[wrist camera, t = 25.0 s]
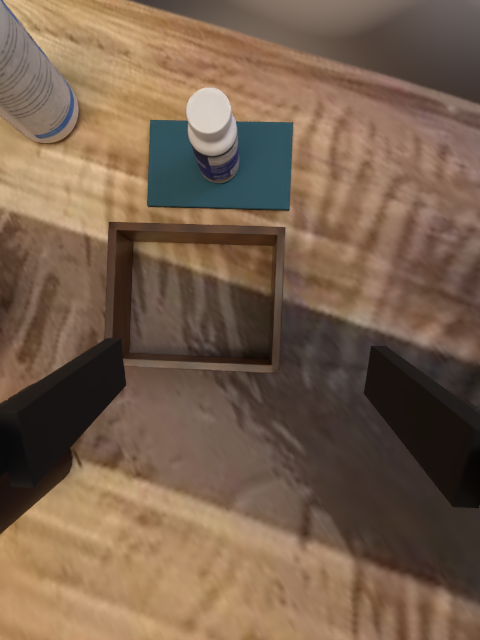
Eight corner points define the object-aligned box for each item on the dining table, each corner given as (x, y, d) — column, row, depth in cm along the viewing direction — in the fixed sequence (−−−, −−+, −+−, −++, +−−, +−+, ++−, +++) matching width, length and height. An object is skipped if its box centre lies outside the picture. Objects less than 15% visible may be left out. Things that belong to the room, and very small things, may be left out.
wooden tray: (280, 238, 38) (285, 227, 33) (275, 366, 38) (279, 373, 33) (126, 234, 39) (108, 221, 34) (122, 359, 39) (103, 365, 34)
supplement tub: (86, 85, 39) (-13, -57, 24) (76, 151, 39) (-30, 49, 24) (22, 76, 39) (-116, -71, 24) (11, 141, 39) (-132, 34, 24)
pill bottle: (193, 152, 38) (173, 92, 28) (231, 137, 37) (225, 72, 28) (206, 190, 38) (191, 145, 28) (245, 176, 37) (243, 125, 28)
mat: (292, 124, 38) (293, 122, 37) (288, 210, 38) (289, 209, 37) (151, 122, 38) (150, 119, 38) (148, 206, 38) (147, 205, 38)
